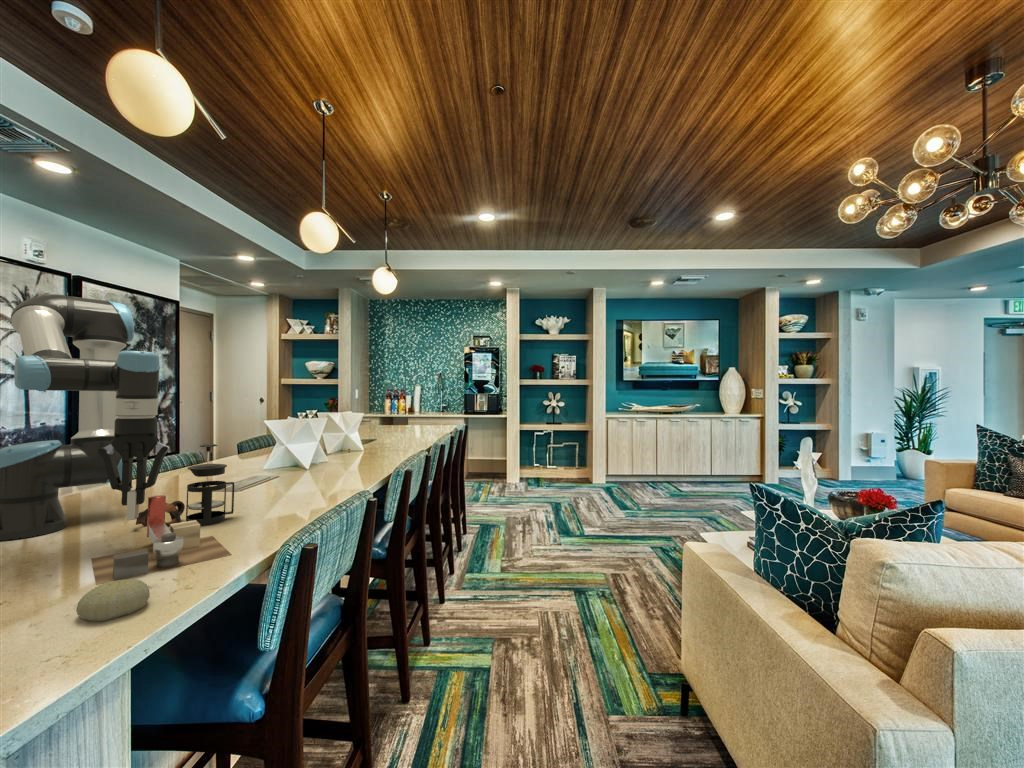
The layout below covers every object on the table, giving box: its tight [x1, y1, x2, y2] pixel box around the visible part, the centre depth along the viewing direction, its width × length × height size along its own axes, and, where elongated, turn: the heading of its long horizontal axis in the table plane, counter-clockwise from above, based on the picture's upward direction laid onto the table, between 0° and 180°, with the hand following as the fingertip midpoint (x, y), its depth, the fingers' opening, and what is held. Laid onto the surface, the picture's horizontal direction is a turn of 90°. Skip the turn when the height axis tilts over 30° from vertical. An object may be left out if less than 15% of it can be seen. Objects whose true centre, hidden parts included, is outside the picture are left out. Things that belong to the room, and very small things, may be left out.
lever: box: [146, 494, 183, 559], centre depth 97 cm, size 21×5×9 cm, turn 46°
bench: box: [90, 533, 233, 586], centre depth 95 cm, size 18×22×8 cm
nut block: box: [169, 520, 201, 549], centre depth 102 cm, size 5×5×5 cm
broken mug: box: [135, 500, 186, 527], centre depth 121 cm, size 12×10×8 cm
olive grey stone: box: [75, 578, 151, 622], centre depth 75 cm, size 9×8×8 cm
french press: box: [185, 443, 235, 527], centre depth 121 cm, size 12×9×23 cm
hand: (132, 518), depth 101 cm, fingers closed
